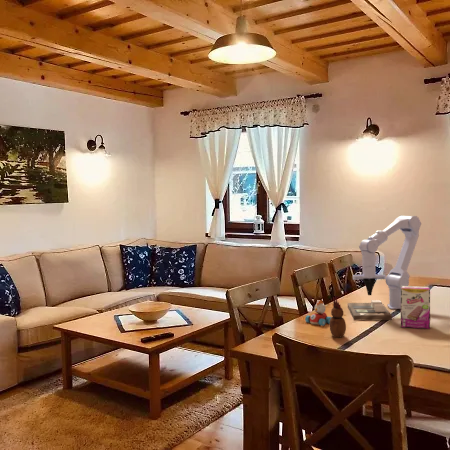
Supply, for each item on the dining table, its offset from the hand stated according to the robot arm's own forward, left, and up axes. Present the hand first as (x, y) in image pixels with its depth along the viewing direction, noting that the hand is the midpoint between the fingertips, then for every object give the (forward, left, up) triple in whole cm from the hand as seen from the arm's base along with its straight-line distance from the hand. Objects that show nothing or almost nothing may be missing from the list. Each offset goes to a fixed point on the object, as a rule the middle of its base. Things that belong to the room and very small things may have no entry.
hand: (369, 294), depth 225 cm
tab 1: (-3, 0, -5) cm, 6 cm away
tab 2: (-3, +8, -5) cm, 10 cm away
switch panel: (+1, +3, -8) cm, 8 cm away
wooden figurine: (+18, +39, -8) cm, 44 cm away
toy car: (+24, +19, -8) cm, 32 cm away
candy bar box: (-14, +26, -8) cm, 31 cm away
